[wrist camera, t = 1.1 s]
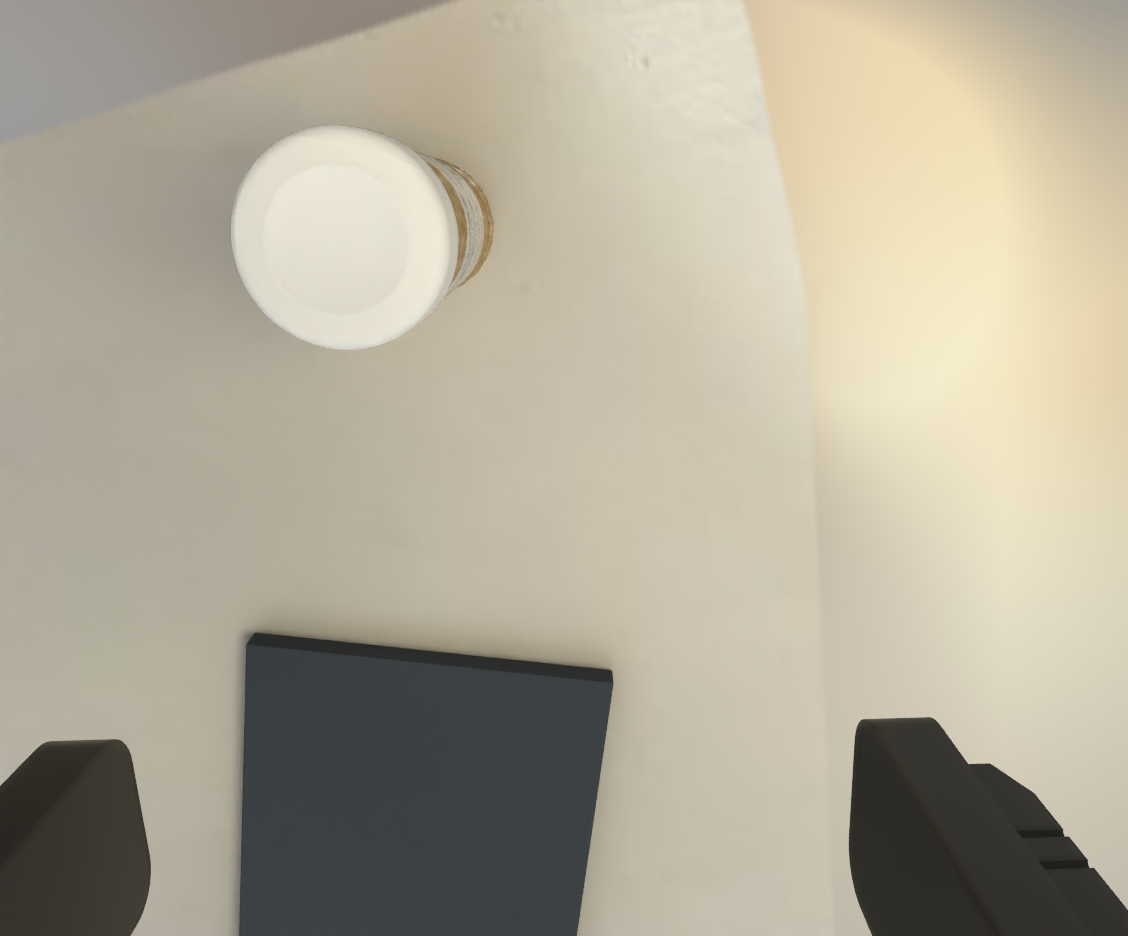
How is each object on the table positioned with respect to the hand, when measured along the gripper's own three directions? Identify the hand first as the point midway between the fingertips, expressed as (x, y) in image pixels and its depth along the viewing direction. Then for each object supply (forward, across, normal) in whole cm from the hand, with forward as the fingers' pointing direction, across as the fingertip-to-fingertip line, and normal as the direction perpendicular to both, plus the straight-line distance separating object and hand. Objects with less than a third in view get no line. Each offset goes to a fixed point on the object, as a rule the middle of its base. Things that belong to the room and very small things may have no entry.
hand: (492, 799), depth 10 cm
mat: (+24, +6, +22) cm, 33 cm away
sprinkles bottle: (+24, +4, -6) cm, 25 cm away
